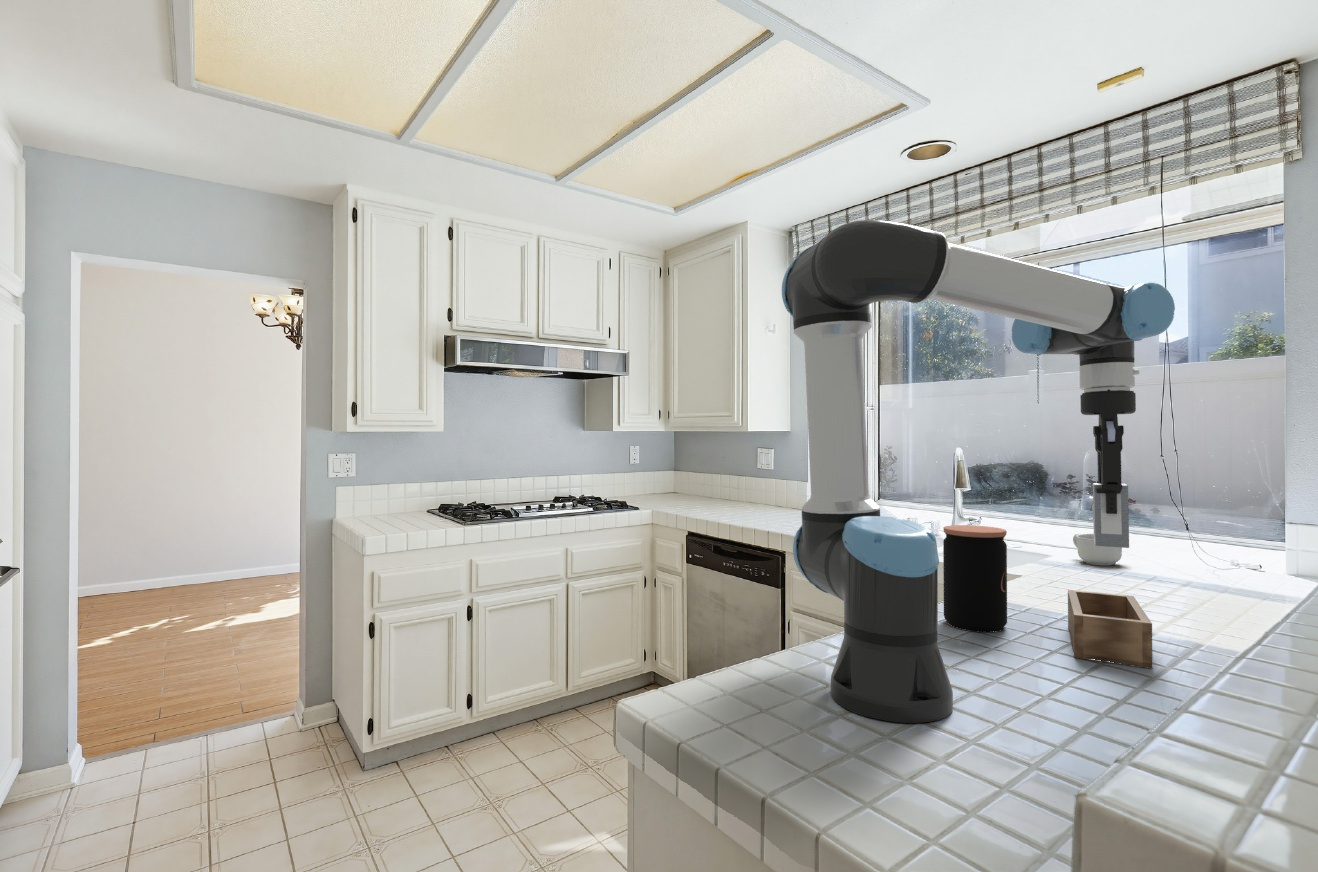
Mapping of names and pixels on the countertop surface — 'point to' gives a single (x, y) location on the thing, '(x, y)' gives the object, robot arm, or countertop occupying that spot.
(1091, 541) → the teacup
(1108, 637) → the trough
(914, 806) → the countertop surface
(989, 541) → the coffee jar
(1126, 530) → the steel bar
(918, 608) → the robot arm
